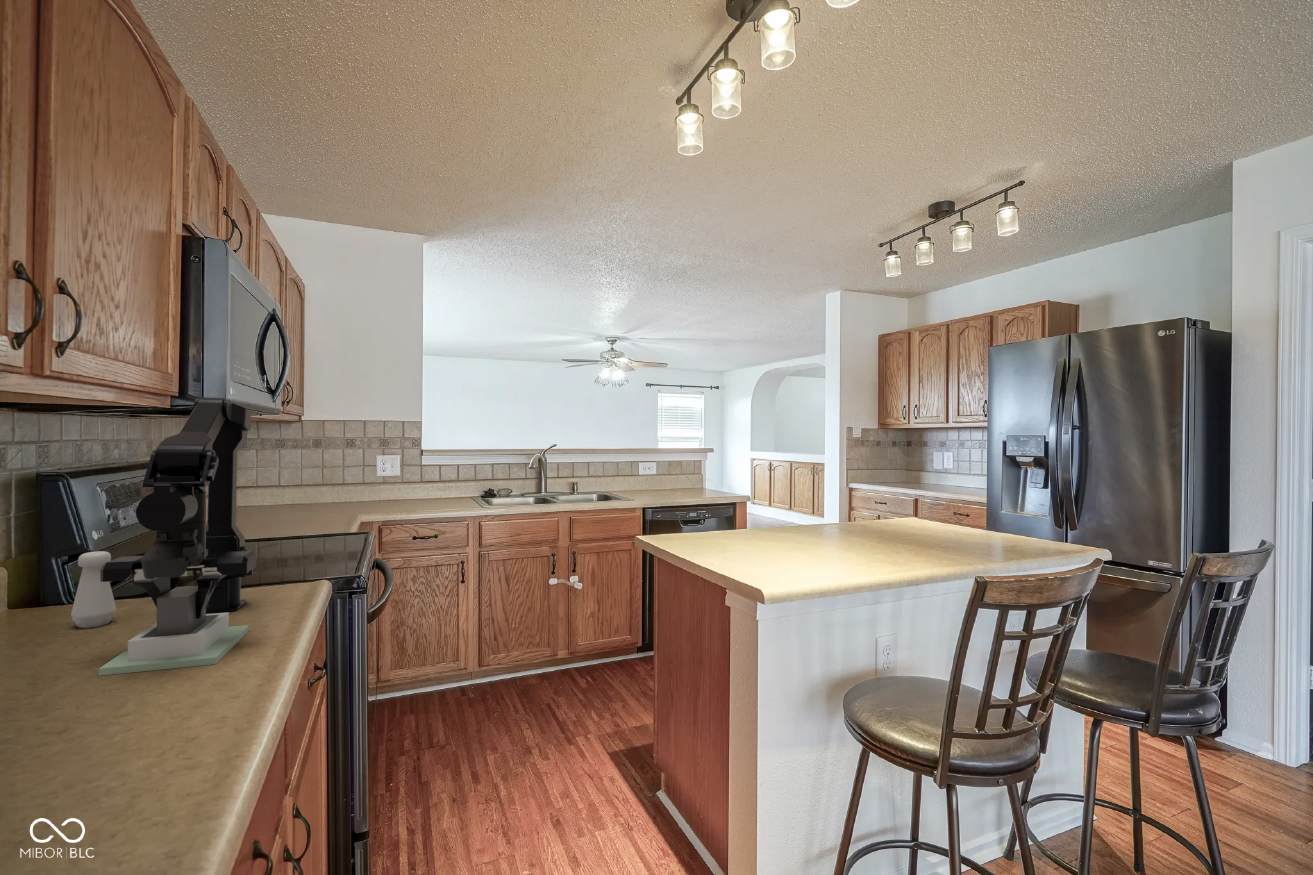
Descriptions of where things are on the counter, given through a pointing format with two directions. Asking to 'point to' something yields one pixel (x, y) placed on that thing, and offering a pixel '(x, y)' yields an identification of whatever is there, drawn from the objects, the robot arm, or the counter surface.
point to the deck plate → (178, 647)
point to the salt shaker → (93, 593)
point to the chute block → (178, 612)
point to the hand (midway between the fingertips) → (182, 619)
